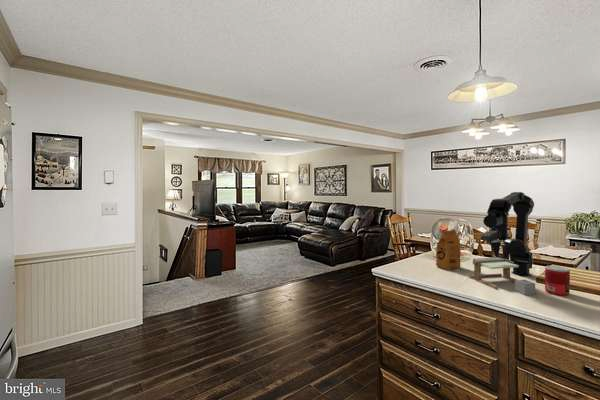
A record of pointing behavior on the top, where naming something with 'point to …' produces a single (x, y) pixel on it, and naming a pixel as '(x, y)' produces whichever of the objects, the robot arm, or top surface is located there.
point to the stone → (524, 287)
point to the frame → (478, 276)
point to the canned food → (557, 280)
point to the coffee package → (448, 250)
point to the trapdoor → (495, 263)
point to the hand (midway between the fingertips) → (500, 257)
